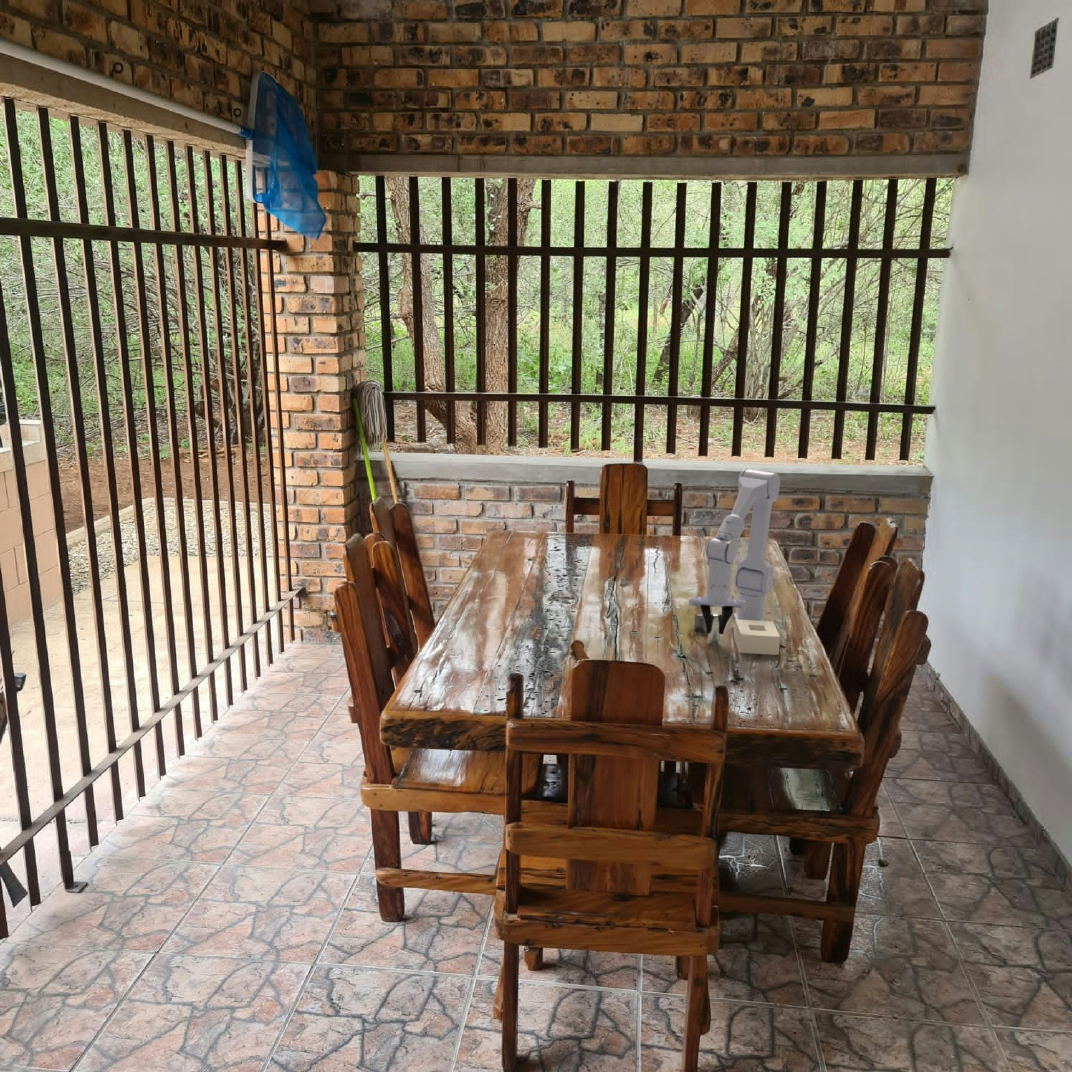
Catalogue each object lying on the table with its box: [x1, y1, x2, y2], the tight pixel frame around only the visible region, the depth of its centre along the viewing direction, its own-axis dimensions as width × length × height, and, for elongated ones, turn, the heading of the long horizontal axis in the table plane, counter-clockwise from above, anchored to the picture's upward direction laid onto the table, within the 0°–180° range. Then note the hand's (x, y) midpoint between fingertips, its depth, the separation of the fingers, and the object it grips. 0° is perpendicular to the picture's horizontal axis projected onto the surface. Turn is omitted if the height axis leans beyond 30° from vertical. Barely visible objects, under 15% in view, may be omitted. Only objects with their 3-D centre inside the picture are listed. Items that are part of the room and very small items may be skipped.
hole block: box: [733, 618, 781, 656], centre depth 254 cm, size 12×10×5 cm
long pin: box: [707, 612, 722, 646], centre depth 254 cm, size 3×3×8 cm
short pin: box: [693, 612, 706, 633], centre depth 265 cm, size 3×3×4 cm
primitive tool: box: [570, 639, 591, 661], centre depth 238 cm, size 19×6×4 cm, turn 11°
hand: (714, 632), depth 255 cm, fingers closed on long pin, 3 cm apart
